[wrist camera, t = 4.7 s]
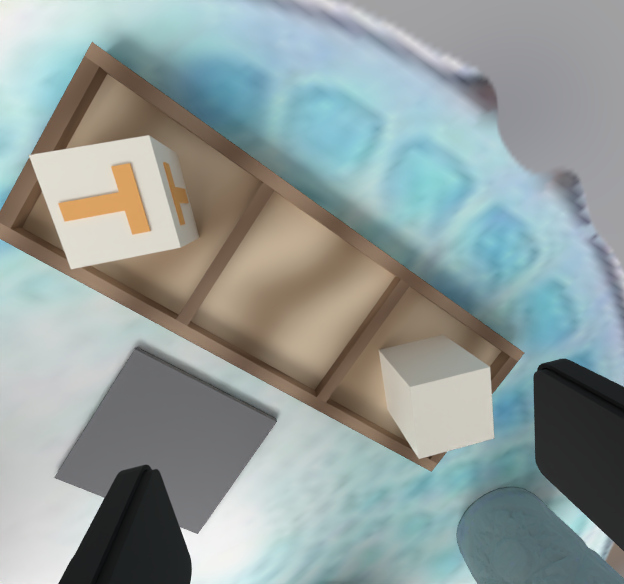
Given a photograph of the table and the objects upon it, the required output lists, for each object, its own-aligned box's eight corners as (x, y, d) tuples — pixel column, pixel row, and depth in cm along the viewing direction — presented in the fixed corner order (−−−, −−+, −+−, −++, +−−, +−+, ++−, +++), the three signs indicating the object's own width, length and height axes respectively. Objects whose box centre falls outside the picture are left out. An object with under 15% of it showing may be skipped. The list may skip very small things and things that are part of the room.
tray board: (511, 345, 28) (524, 352, 26) (423, 459, 29) (431, 471, 28) (103, 53, 19) (92, 42, 18) (6, 230, 21) (-12, 232, 19)
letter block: (88, 168, 20) (27, 154, 15) (178, 153, 21) (150, 134, 15) (117, 253, 22) (69, 269, 16) (200, 237, 22) (182, 247, 17)
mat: (276, 418, 26) (276, 421, 26) (198, 529, 27) (197, 533, 27) (136, 346, 23) (134, 349, 23) (57, 473, 25) (54, 477, 24)
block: (378, 349, 26) (409, 387, 20) (443, 334, 26) (490, 366, 21) (387, 409, 27) (418, 458, 22) (448, 393, 27) (494, 438, 22)
